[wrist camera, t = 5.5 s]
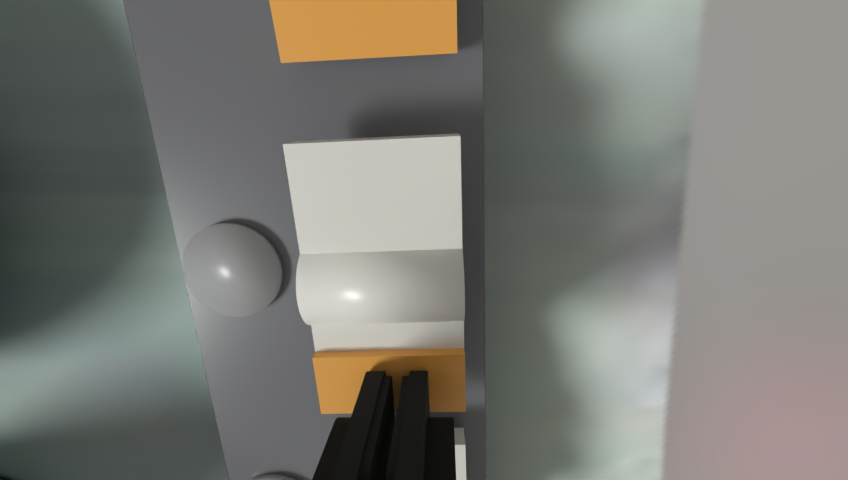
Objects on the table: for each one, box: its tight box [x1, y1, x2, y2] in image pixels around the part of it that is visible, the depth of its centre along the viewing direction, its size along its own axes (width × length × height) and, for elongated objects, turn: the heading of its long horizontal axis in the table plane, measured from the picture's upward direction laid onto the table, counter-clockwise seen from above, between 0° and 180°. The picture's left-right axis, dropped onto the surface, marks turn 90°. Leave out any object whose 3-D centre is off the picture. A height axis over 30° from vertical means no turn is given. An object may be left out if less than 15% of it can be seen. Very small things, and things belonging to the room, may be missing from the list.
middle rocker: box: [283, 133, 466, 414], centre depth 11 cm, size 8×4×2 cm, turn 3°
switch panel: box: [123, 0, 485, 480], centre depth 14 cm, size 32×10×3 cm, turn 3°
